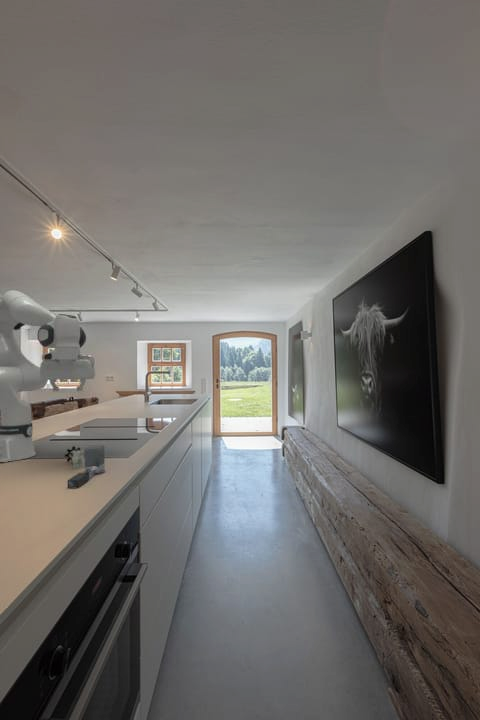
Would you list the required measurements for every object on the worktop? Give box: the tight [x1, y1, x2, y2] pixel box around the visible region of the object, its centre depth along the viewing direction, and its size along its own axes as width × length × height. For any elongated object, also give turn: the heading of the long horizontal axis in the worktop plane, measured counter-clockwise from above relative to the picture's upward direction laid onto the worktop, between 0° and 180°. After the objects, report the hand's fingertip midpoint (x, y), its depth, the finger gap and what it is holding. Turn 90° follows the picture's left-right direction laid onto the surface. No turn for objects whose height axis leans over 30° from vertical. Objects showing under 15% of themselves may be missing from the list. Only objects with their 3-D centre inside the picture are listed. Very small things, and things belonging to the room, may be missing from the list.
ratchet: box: [67, 462, 106, 489], centre depth 121 cm, size 6×20×6 cm, turn 179°
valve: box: [64, 445, 85, 470], centre depth 137 cm, size 7×7×12 cm
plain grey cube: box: [84, 445, 105, 468], centre depth 128 cm, size 5×5×6 cm
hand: (67, 391), depth 136 cm, fingers open, 8 cm apart
